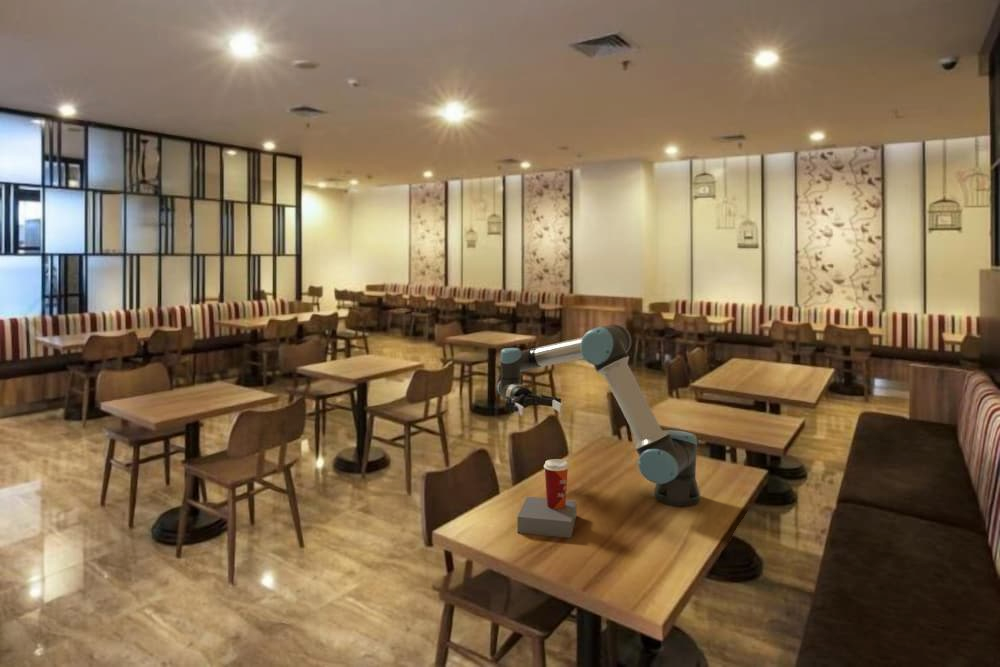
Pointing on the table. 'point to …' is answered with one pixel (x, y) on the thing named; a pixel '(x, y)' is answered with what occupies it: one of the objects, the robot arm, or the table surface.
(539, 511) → the base block
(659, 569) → the table surface
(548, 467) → the paper cup
